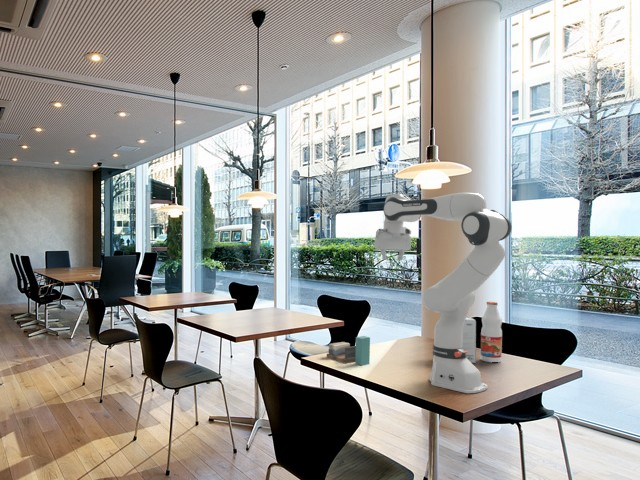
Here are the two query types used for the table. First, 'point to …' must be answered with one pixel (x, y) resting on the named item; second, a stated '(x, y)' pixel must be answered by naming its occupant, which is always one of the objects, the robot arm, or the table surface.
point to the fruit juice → (491, 334)
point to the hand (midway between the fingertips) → (392, 260)
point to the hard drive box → (470, 339)
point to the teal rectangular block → (362, 350)
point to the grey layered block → (342, 352)
